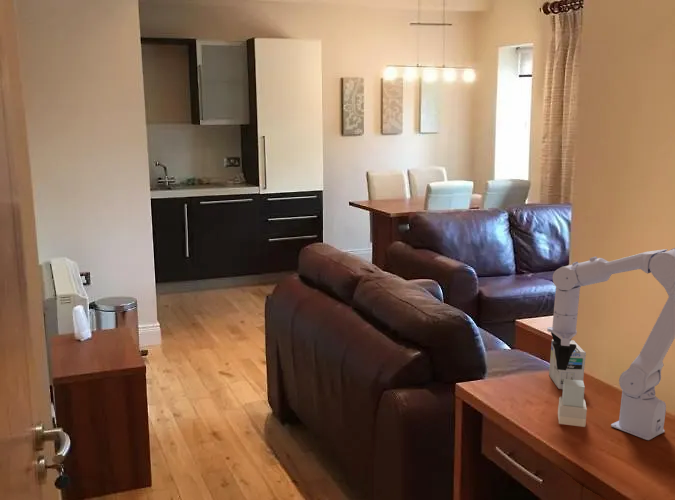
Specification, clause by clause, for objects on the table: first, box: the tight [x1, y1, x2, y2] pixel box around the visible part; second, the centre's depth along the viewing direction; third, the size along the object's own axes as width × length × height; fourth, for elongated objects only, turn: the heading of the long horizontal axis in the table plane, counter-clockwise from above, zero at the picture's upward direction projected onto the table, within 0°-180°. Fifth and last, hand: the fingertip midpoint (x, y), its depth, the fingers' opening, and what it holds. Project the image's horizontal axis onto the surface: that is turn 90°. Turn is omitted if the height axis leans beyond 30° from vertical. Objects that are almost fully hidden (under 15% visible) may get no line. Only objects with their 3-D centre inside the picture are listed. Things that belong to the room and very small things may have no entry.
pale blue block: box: [561, 379, 586, 407], centre depth 178 cm, size 4×4×5 cm
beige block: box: [558, 396, 588, 420], centre depth 179 cm, size 6×6×2 cm
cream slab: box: [557, 405, 587, 428], centre depth 179 cm, size 6×6×2 cm
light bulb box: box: [548, 338, 587, 390], centre depth 203 cm, size 11×7×11 cm, turn 179°
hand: (560, 364), depth 187 cm, fingers open, 7 cm apart
